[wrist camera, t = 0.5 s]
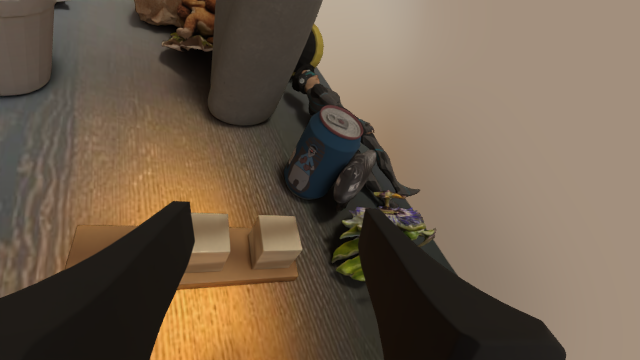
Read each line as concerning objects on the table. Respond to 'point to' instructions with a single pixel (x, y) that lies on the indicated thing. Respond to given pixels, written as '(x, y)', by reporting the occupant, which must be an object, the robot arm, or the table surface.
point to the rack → (216, 249)
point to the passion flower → (352, 267)
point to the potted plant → (25, 45)
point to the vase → (256, 55)
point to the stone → (158, 11)
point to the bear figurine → (194, 26)
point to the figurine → (324, 96)
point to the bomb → (311, 50)
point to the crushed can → (353, 178)
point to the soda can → (323, 152)
